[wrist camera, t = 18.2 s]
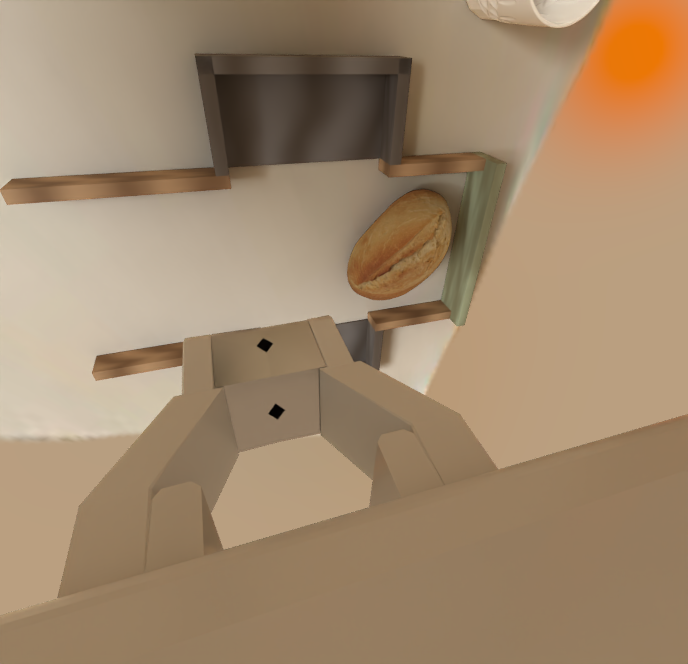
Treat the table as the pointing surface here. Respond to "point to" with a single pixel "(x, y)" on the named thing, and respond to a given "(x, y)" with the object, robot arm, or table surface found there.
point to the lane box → (303, 147)
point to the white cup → (533, 11)
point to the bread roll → (401, 246)
